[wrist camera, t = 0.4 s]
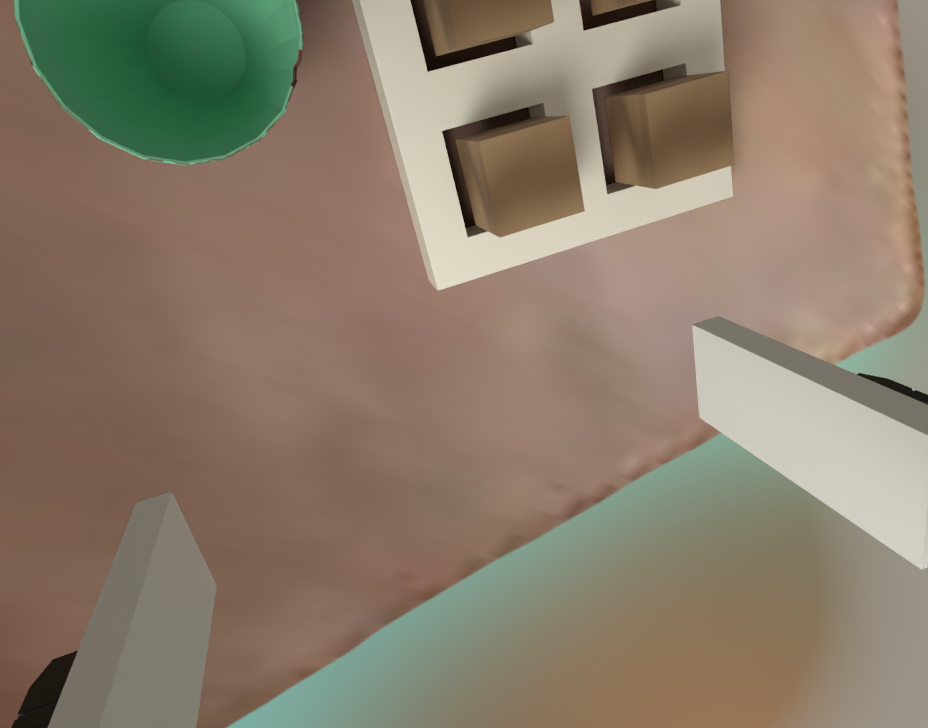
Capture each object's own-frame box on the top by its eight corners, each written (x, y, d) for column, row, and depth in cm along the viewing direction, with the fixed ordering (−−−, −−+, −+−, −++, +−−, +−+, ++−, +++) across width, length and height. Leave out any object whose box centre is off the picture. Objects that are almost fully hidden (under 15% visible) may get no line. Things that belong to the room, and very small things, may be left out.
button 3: (603, 97, 36) (645, 94, 32) (678, 76, 37) (728, 70, 33) (615, 181, 38) (655, 189, 34) (686, 160, 39) (734, 164, 35)
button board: (325, -95, 32) (329, -112, 29) (680, -171, 35) (707, -192, 32) (428, 281, 40) (438, 290, 37) (708, 192, 43) (732, 196, 40)
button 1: (455, 139, 35) (478, 141, 31) (536, 116, 35) (569, 115, 31) (475, 224, 37) (500, 237, 32) (551, 201, 37) (584, 211, 33)
